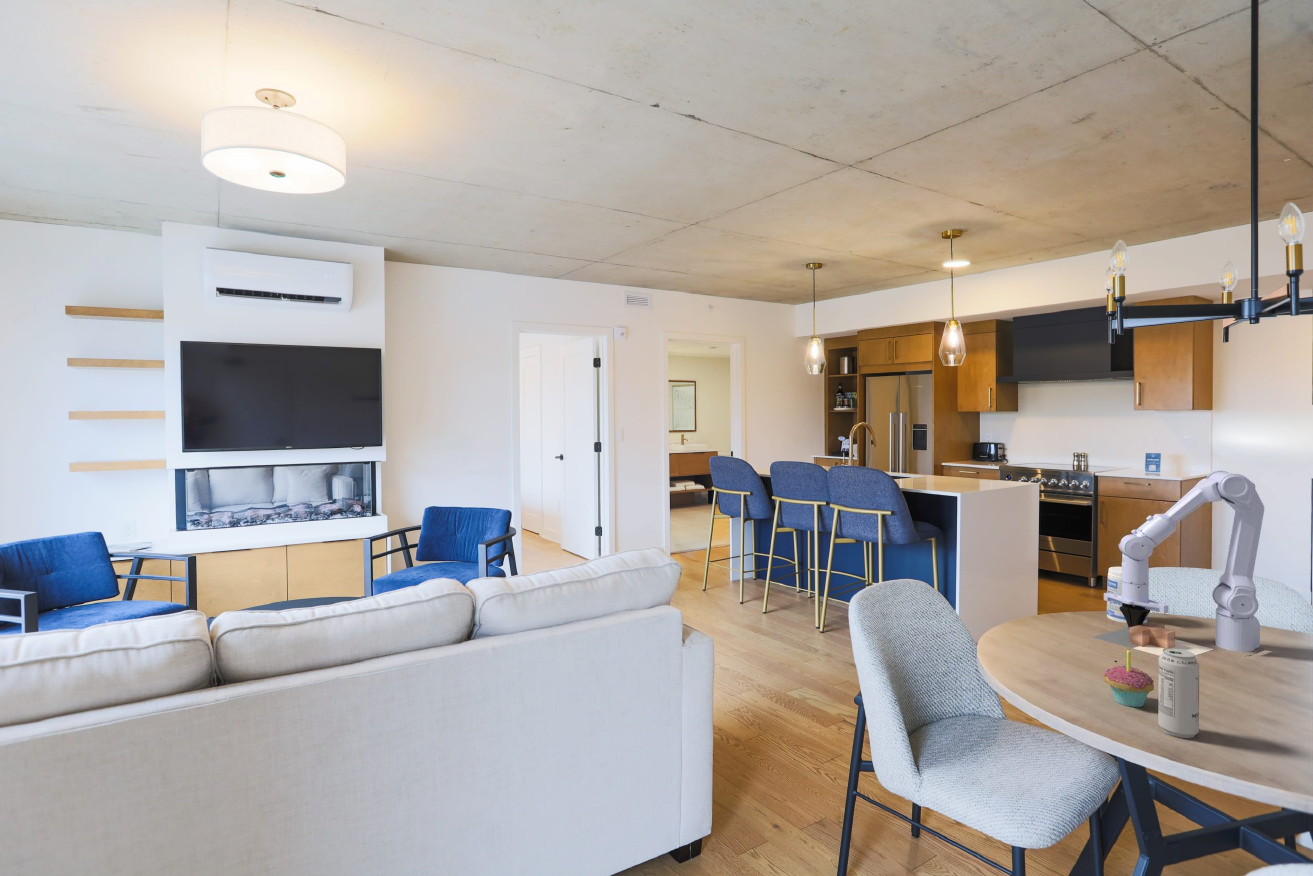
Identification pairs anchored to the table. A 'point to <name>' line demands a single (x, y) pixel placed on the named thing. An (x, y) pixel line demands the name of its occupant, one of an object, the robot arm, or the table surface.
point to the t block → (1152, 635)
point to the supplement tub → (1116, 588)
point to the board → (1123, 639)
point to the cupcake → (1129, 684)
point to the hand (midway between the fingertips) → (1134, 634)
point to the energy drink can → (1178, 693)
